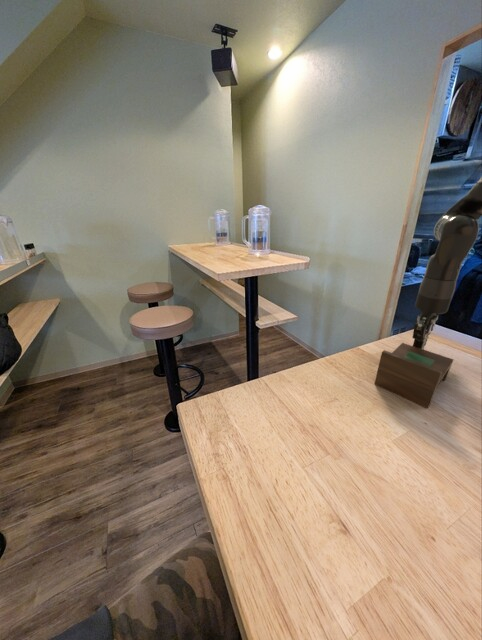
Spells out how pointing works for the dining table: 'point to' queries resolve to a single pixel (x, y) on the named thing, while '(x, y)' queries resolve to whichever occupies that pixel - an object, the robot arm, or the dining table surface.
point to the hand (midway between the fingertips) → (418, 347)
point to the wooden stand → (412, 373)
